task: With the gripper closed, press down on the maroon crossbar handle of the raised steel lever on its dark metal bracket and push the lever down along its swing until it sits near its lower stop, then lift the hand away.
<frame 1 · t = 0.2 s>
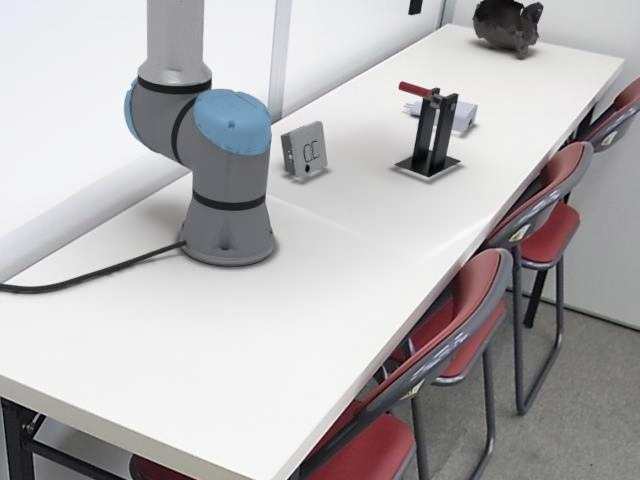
hand: (385, 5, 167), 28 cm above the table, tool pointing down, fingers open, 13 cm apart
lever: (428, 96, 167), point 15 cm above the table, hinge at 24.0°
electrical switch: (301, 174, 174), on the table
bracket: (427, 168, 179), on the table
dark grey rounded piece: (498, 49, 250), on the table
charger: (435, 124, 200), on the table
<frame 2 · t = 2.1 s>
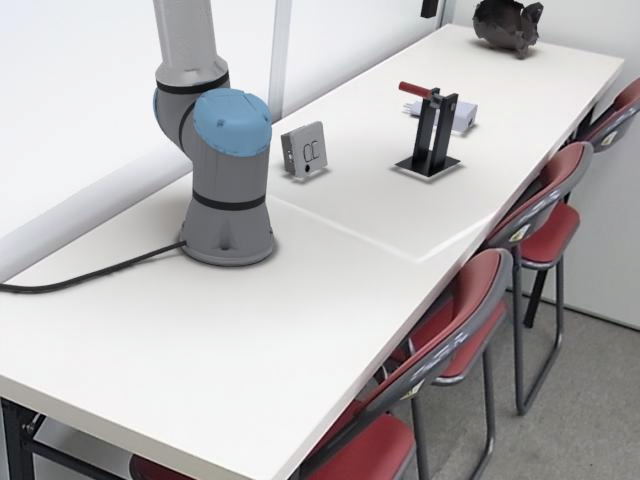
hand: (428, 16, 155), 30 cm above the table, tool pointing down, fingers closed
nothing on the table moved.
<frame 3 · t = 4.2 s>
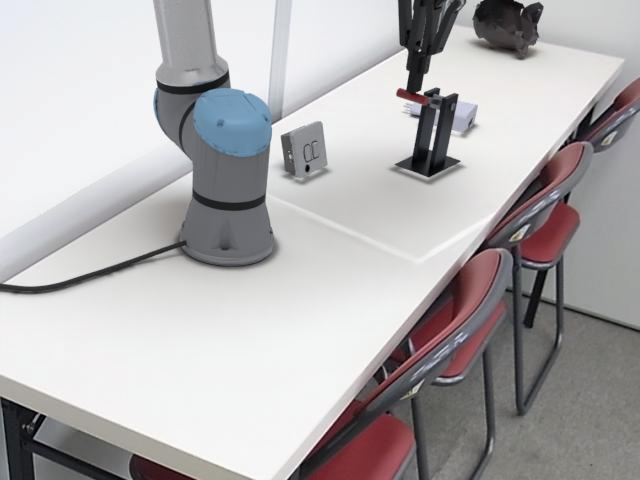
hand: (413, 90, 162), 17 cm above the table, tool pointing down, fingers closed
lever: (427, 99, 167), point 15 cm above the table, hinge at 17.7°, touching gripper
everything else where it was.
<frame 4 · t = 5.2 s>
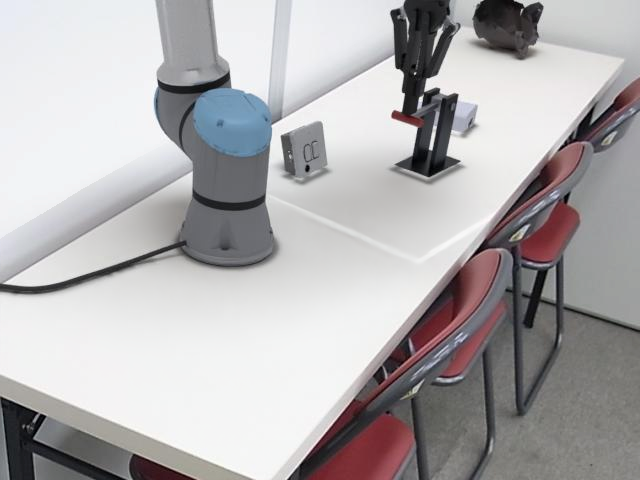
hand: (409, 112, 164), 13 cm above the table, tool pointing down, fingers closed
lever: (424, 110, 168), point 13 cm above the table, hinge at -2.9°, touching gripper
everything else where it was.
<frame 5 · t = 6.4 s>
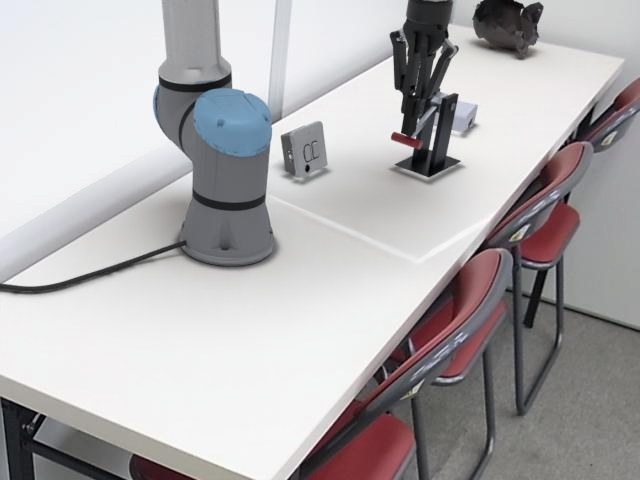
hand: (408, 132, 167), 10 cm above the table, tool pointing down, fingers closed
lever: (424, 120, 170), point 11 cm above the table, hinge at -26.5°, touching gripper
everything else where it was.
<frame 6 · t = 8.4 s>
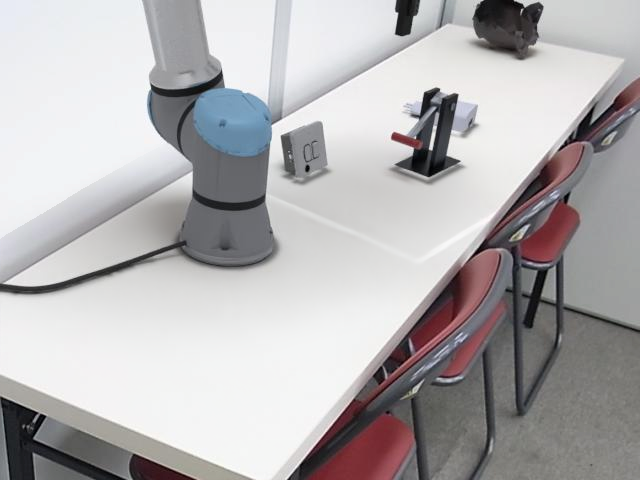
hand: (402, 34, 157), 27 cm above the table, tool pointing down, fingers closed
lever: (424, 120, 170), point 11 cm above the table, hinge at -26.6°
everything else where it was.
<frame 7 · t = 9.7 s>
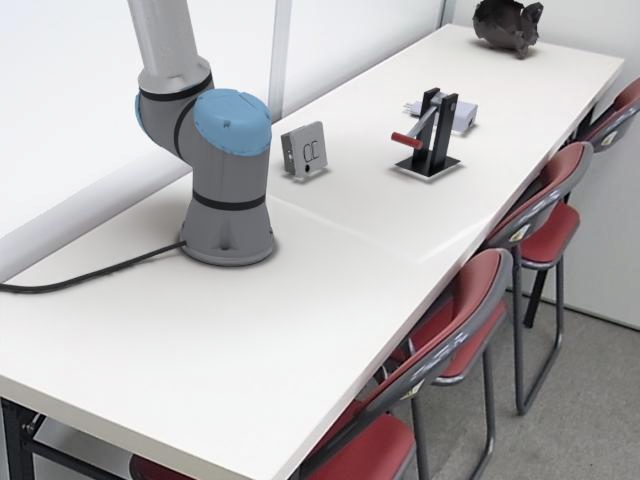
nothing on the table moved.
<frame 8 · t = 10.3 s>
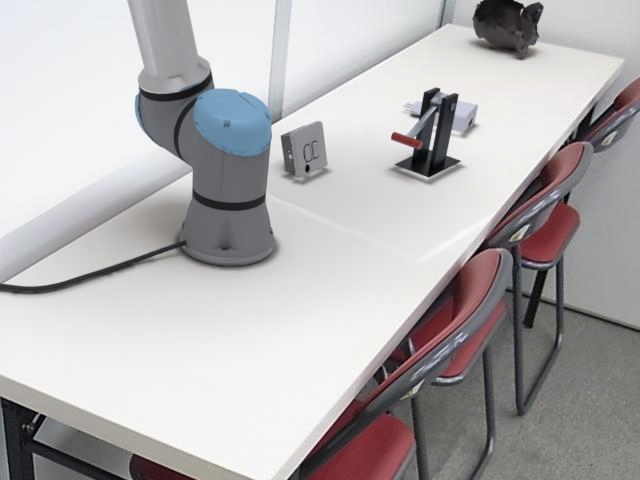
nothing on the table moved.
at the end: lever at -27° (first picture: +24°); lever reached -27° during the clip, -27° at the end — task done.
